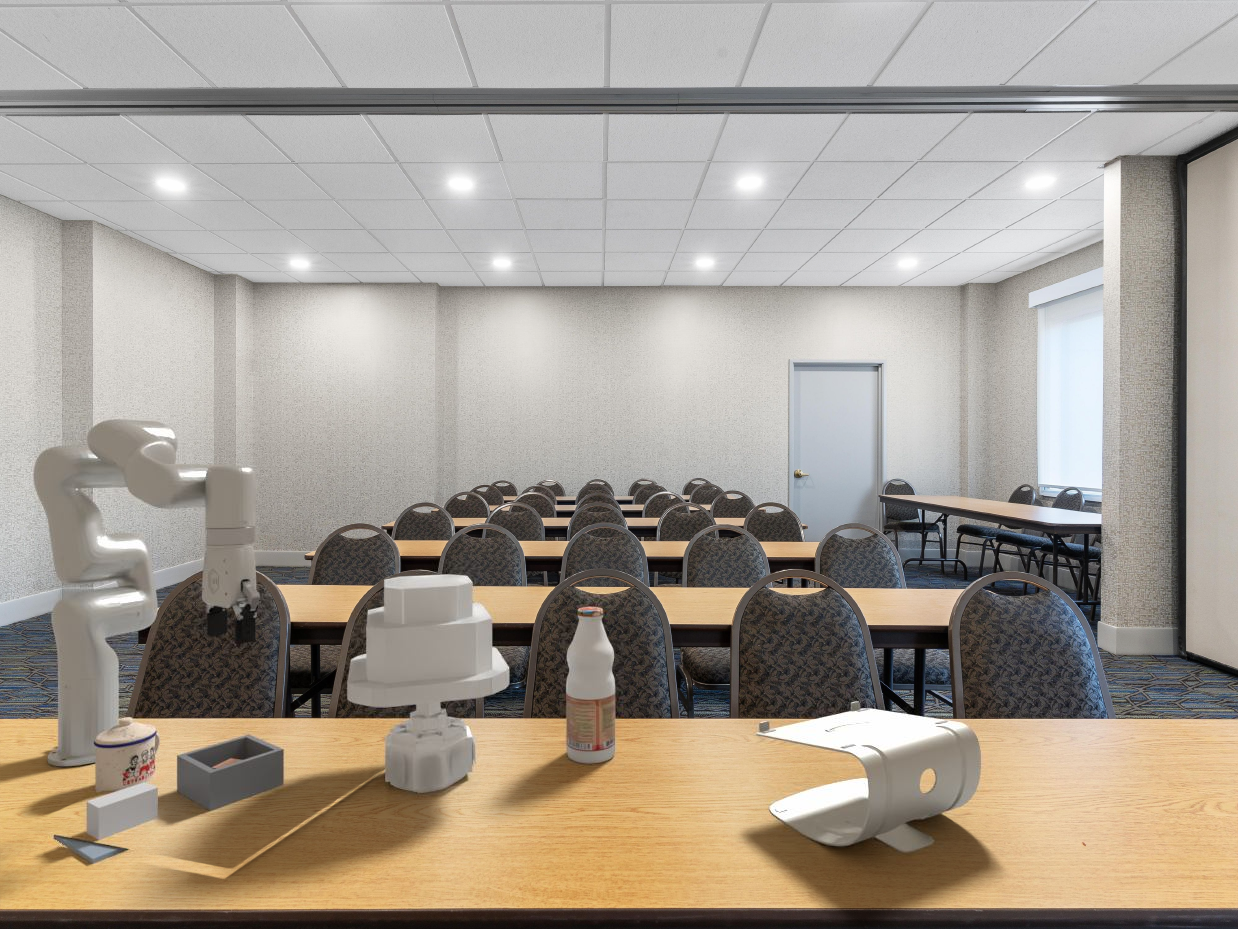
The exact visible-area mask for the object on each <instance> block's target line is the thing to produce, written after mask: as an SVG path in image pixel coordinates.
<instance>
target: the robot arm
mask: <svg viewBox="0 0 1238 929" xmlns="http://www.w3.org/2000/svg"><path fill="white" fill-rule="evenodd" d="M86 441H87V442H86V443H87V444H62V445H57V446H56V445H55V446H52V447H48V448H46V449H44V450H43V451H41V453H39V455H38V457H37V458H36V460H35V464H34V467H33V484H34V488H35V492H36V495H37V497H38V499H39V502H40V503H41V505H42V508H43V510H44V513H45V515H46V518H47V523H48V531H49V532H48V533H49V538H50V540H49V541H50V545H51V546H50V547H51V553H52V559H53V565H54V566H53V567H54V571H55V574H56V577H57V579H58V580H59V581H60V582H61V583H63V584H65V585H70V586H75V585H76V586H77V585H78V586H79V585H87V584H96V583H105V582H111V581H112V582H113V581H116V583H117V586H114V587H112V586H111V587H102V588H95V589H89V590H83V591H77V592H74V593H71V594H68V595H65V596H63V598H61V599H59V600H58V601H57V602H56V603H55V604H54V606H53V607H52V610H51V626H52V631H53V635H54V638H55V645H56V651H57V748H55V749H53V750H51V751H50V752H49V753H48V754H47V762H48V764H49V765H51V766H55V767H73V766H74V767H77V766H83V765H89V764H94V763H95V745H94V741H95V738H96V737H97V736H98V735H99V734H101V733H102V732H104V731H107V730H110V729H111V728H112V727H114V726H116V725H118V724H119V720H120V719H119V714H120V712H119V710H120V708H119V706H120V705H119V702H120V700H119V698H120V694H119V692H120V689H119V688H120V686H119V685H120V683H119V681H120V680H119V679H120V677H119V676H120V675H119V672H120V671H119V670H120V668H119V657H118V655H117V652H115V650H114V649H113V648H112V647H111V646H110V645H109V644H108V642H107V641H106V639H107V638H109V637H113V636H119V635H122V634H123V635H124V634H129V633H134V632H138V631H142V630H146V629H147V628H149V627H151V626H152V624H153V623H154V622H155V621H156V618H157V616H158V611H159V610H158V597H157V590H156V582H155V577H154V571H153V563H152V558H151V557H152V556H151V552H150V549H149V547H148V544H147V543H146V541H145V540H144V539H143V538H142V537H141V536H139V534H138V535H137V534H134V533H132V532H115V533H107V532H106V531H105V529H104V524H103V517H102V512H101V510H100V507H98V505H97V504H96V503H95V502H94V501H93V499H92V498H90V496H88V495H87V494H86V493H85V492H83V491H82V489H107V488H110V489H111V488H112V489H113V488H127V490H128V492H129V493H130V494H131V495H132V496H133V497H135V498H136V499H137V500H140V501H142V502H143V503H146V505H149V506H151V507H155V508H158V509H163V510H176V509H178V510H179V509H190V508H191V509H192V508H200V509H201V508H204V509H205V510H204V513H205V514H204V515H205V516H204V517H205V518H204V519H205V521H204V522H205V523H204V527H205V529H204V530H205V531H204V532H205V533H204V534H205V535H204V536H205V539H204V540H205V541H204V542H205V544H204V545H205V553H204V559H203V566H202V567H203V569H202V581H201V582H202V584H201V585H202V586H201V600H202V602H203V603H205V604H206V606H205V611H206V635H207V636H208V637H215V636H221V635H225V634H227V633H228V610H227V609H228V608H230V607H232V608H233V611H234V614H235V616H236V618H237V619H234V624H233V625H234V627H233V628H234V631H233V632H234V637H233V639H234V644H235V645H240V644H247V643H252V642H255V641H256V618H257V617H258V614H257V611H258V608H259V601H260V598H261V595H260V594H261V593H260V592H259V591H258V589H257V575H256V574H257V572H256V568H257V567H256V558H255V551H254V546H256V473H255V470H254V468H252V467H250V466H248V465H236V464H235V465H228V464H227V465H222V464H200V463H199V464H197V463H196V464H195V463H189V464H187V463H186V464H185V463H182V464H181V463H178V464H176V461H177V451H178V446H179V445H178V438H177V436H176V433H175V431H174V430H173V429H172V428H171V427H170V426H169V425H167V424H165V423H164V422H160V421H153V420H140V419H139V420H137V419H120V418H119V419H107V420H104V421H101V422H99V423H96V424H95V425H93V426H92V428H91V429H90V430H89V432H88V433H87V438H86ZM225 609H226V610H225Z"/></svg>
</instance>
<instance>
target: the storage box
mask: <svg viewBox="0 0 1238 929" xmlns="http://www.w3.org/2000/svg"><path fill="white" fill-rule="evenodd" d="M284 750H285V749H284V748H282V747H279V746H278V745H275V744H272V743H270V742H268V741H265V740H263V739H261V738H259V737H255V736H254V735H251V734H245V735H242V736H237V737H235V738H231V739H229V740H225V741H221V742H218V743H215V744H212V745H208V746H204V747H201V748H197V749H194V750H191V751H188V752H187V751H186V752H184V753H181V754H177V755H176V792H177V793H179V794H180V795H182V796H183V797H185V798H187V799H189V800H190V801H193V802H194V803H195V804H197V805H198V806H201V807H202V808H204V809H206V810H208V811H209V812H213V811H215V810H218V809H221V808H223V807H226V806H229V805H231V804H235V803H237V802H241V801H243V800H246V799H249V798H251V797H253V796H257V795H259V794H263V793H265V792H267V791H268V792H269V791H270V790H273V789H276V788H279V787H281V786H284V785H285V784H284V783H285V782H284V781H285V780H284V779H285V778H284V776H285V772H284V770H285V768H284V764H285V762H284V758H285V757H284V756H285V755H284V754H285V752H284ZM231 758H232V759H239V760H242V761H238V762H235V763H232V764H229V765H226V766H223V767H220V768H217V769H212V767H214V766H216V765H218V764H220V763H222V762H224V761H226V760H228V759H231Z"/></svg>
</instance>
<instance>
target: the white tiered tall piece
mask: <svg viewBox="0 0 1238 929" xmlns="http://www.w3.org/2000/svg"><path fill="white" fill-rule="evenodd" d="M383 581H384V582H383V606H381V607H376V608H371V609H368V610H367V616H366V627H365V628H366V629H365V633H366V634H365V635H366V636H365V637H366V640H365V642H366V643H365V644H366V645H365V646H366V648H365V649H366V650H365V652H366V653H364V654H359V655H357V656H355V657H353V658H351V659H350V663H349V669H348V674H347V675H348V676H347V681H346V684H347V687H346V690H347V691H346V694H347V695H346V696H347V698H346V699H347V701H349V702H351V703H353V704H357V705H361V706H366V707H371V708H392V707H402V706H404V707H405V706H412V705H415V706H416V707H415V708H416V709H415V710H414V711H411V712H410V713H409V719H407V720H405V721H403V722H401V723H398V724H394V725H393V727H392V728H391V729H389V730H390V731H389V732H390V733H389V734H386V735H384V737H385V738H384V744H385V745H384V746H385V747H384V750H385V751H384V753H385V754H384V758H385V759H384V763H385V764H384V766H385V767H384V770H385V771H384V773H385V774H384V776H385V777H384V778H385V783H389V782H390V785H391V786H393V787H394V788H397V789H400V790H401V789H402V790H406V791H409V792H412V791H413V792H414V793H416V792H417V794H421V793H429V792H436V791H437V790H438V791H443V790H444V789H447V788H448V787H450V786H451V785H453V784H455V783H457V782H459V781H460V780H461V779H463V778H464V777H465V776H467V775H468V773H473V765H474V763H476V740H475V737H474V734H473V733H472V732H471V730H470V726H468V725H466V723H465V721H464V720H462V719H461V718H458V717H453V716H448V713H447V709H446V708H441V703H443V702H452V701H453V702H455V701H462V700H463V701H464V700H471V699H480V698H484V697H487V696H491V695H495V694H496V693H499V692H500V691H503V690H505V689H507V687H509V685H510V667H509V665H508V664H507V662H506V660H505V659H504V657H503V655H502V654H501V653H500V651H499V649H498V648H497V647H495V646H493V617H492V616H491V615H490V613H489V612H488V610H486V608H485V607H484V606H483V604H482V603H479V602H474V601H473V600H474V597H473V595H474V592H473V591H474V589H473V586H474V585H473V583H474V582H473V581H472V580H471V578H469V576H468V575H461V574H452V573H449V574H431V575H429V574H427V575H424V574H423V575H407V576H406V575H405V576H403V575H402V576H396V577H390V578H385V579H384V580H383Z"/></svg>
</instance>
